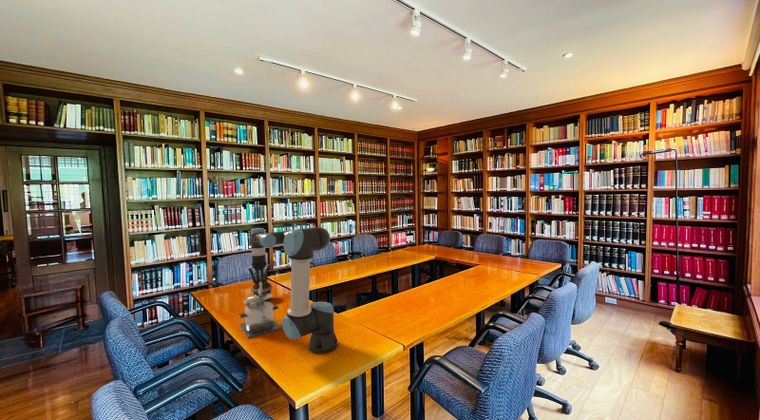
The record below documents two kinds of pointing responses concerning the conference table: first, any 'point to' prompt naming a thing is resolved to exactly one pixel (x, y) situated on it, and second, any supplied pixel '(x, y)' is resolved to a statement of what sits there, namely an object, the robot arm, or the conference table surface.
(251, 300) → the lid
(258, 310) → the cooker
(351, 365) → the conference table surface
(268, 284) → the flowerpot
